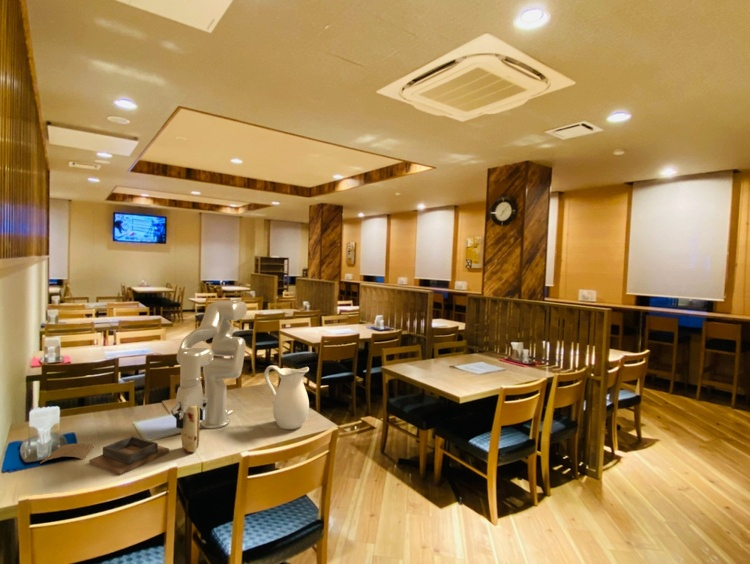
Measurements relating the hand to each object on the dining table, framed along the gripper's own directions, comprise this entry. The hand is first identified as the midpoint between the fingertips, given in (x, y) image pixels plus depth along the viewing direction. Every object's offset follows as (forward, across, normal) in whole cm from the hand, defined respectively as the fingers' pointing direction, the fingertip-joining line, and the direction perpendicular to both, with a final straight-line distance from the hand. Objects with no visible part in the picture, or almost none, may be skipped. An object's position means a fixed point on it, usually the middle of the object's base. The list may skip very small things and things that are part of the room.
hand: (189, 423), depth 165 cm
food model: (+12, 0, 0) cm, 12 cm away
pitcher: (+11, -41, +16) cm, 46 cm away
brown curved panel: (+12, +25, -38) cm, 47 cm away
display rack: (+11, +15, -15) cm, 24 cm away
